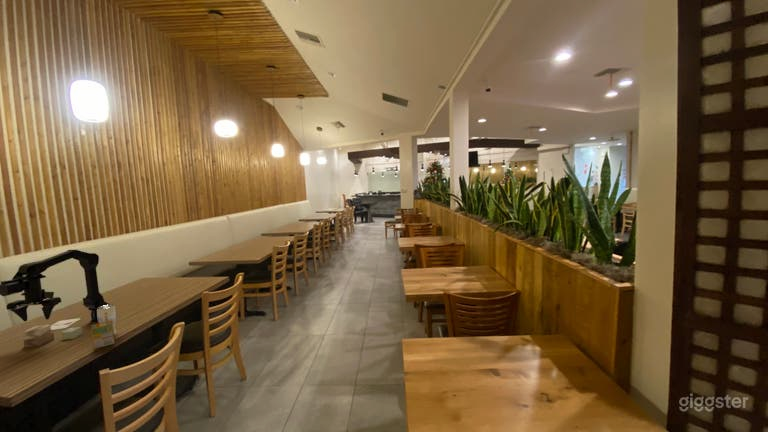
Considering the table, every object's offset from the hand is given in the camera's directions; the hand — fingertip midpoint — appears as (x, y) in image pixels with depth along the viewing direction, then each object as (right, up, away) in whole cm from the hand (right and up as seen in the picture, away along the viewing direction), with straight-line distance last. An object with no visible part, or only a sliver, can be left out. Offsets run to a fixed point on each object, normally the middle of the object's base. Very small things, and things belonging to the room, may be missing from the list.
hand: (36, 320), depth 149 cm
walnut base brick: (0, -12, +1) cm, 12 cm away
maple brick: (0, -8, +1) cm, 8 cm away
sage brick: (+11, -11, +7) cm, 17 cm away
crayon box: (+37, -11, -3) cm, 38 cm away
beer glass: (+29, -11, +8) cm, 31 cm away
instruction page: (-11, -10, +22) cm, 27 cm away
